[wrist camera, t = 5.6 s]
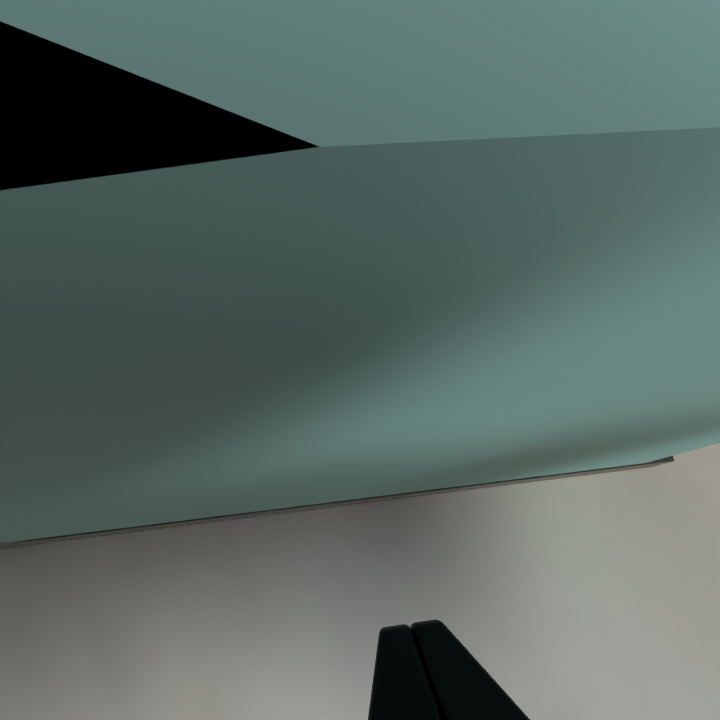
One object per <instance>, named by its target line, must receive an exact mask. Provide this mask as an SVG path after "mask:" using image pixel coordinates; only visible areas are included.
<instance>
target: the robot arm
mask: <svg viewBox="0 0 720 720" xmlns="http://www.w3.org/2000/svg"><path fill="white" fill-rule="evenodd" d="M368 720H530V719H529V718H528V717H527V716H526V715H525V714H524V712H523V711H522V710H521V709H520V708H519V707H518V706H517V705H516V704H515V702H514V701H513V700H512V699H511V698H510V697H509V696H508V695H507V694H506V692H505V691H504V690H503V689H502V688H501V687H500V686H499V685H498V684H497V682H496V681H495V680H494V679H493V678H492V677H491V676H490V675H489V674H488V672H487V671H486V670H485V669H484V668H483V667H482V666H481V665H480V664H479V662H478V661H477V660H476V659H475V658H474V657H473V656H472V655H471V654H470V652H469V651H468V650H467V649H466V648H465V647H464V646H463V645H462V644H461V642H460V641H459V640H458V639H457V638H456V637H455V636H454V635H453V634H452V632H451V631H450V630H449V629H448V628H447V627H446V626H445V625H444V624H443V623H442V622H441V621H439V620H429V621H422V622H416V623H413V624H412V625H411V627H409V626H408V625H405V624H403V625H396V626H390V627H384V628H382V629H381V630H380V632H379V638H378V646H377V654H376V661H375V669H374V677H373V685H372V692H371V700H370V708H369V715H368Z"/></svg>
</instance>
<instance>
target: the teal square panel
mask: <svg viewBox="0 0 720 720" xmlns="http://www.w3.org/2000/svg"><path fill="white" fill-rule="evenodd" d="M716 443H720V0H0V542H14V541H22V540H30V539H38V538H46V537H54V536H62V535H70V534H78V533H86V532H94V531H102V530H110V529H118V528H126V527H134V526H143V525H151V524H159V523H167V522H175V521H183V520H191V519H199V518H207V517H215V516H223V515H231V514H239V513H247V512H255V511H263V510H271V509H279V508H287V507H295V506H303V505H311V504H319V503H327V502H336V501H344V500H352V499H360V498H368V497H376V496H384V495H392V494H400V493H408V492H416V491H424V490H432V489H440V488H448V487H456V486H464V485H472V484H480V483H488V482H496V481H504V480H512V479H521V478H529V477H537V476H545V475H553V474H561V473H569V472H577V471H585V470H593V469H601V468H609V467H617V466H625V465H633V464H641V463H648V462H651V461H655V460H658V459H662V458H666V457H669V456H673V455H676V454H680V453H684V452H687V451H691V450H694V449H698V448H702V447H705V446H709V445H712V444H716Z"/></svg>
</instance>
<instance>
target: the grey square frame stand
mask: <svg viewBox="0 0 720 720" xmlns="http://www.w3.org/2000/svg"><path fill="white" fill-rule="evenodd" d="M672 461H674V459H673V456H669V457H666V458H662V459H658V460H655V461H651V462H648V463H641V464H633V465H625V466H617V467H609V468H601V469H593V470H585V471H577V472H569V473H561V474H553V475H545V476H537V477H529V478H521V479H512V480H504V481H496V482H488V483H480V484H472V485H464V486H456V487H448V488H440V489H432V490H424V491H416V492H408V493H400V494H392V495H384V496H376V497H368V498H360V499H352V500H344V501H336V502H327V503H319V504H311V505H303V506H295V507H287V508H279V509H271V510H263V511H255V512H247V513H239V514H231V515H223V516H215V517H207V518H199V519H191V520H183V521H175V522H167V523H159V524H151V525H143V526H134V527H126V528H118V529H110V530H102V531H94V532H86V533H78V534H70V535H62V536H54V537H46V538H38V539H30V540H22V541H14V542H0V548H8V547H16V546H24V545H32V544H40V543H48V542H56V541H64V540H72V539H80V538H88V537H96V536H104V535H112V534H120V533H127V532H135V531H143V530H151V529H159V528H167V527H175V526H183V525H191V524H199V523H207V522H215V521H223V520H231V519H239V518H247V517H255V516H263V515H271V514H279V513H287V512H295V511H303V510H311V509H319V508H327V507H335V506H343V505H351V504H359V503H367V502H375V501H383V500H391V499H399V498H407V497H415V496H423V495H431V494H439V493H446V492H454V491H462V490H470V489H478V488H486V487H494V486H502V485H510V484H518V483H526V482H534V481H542V480H550V479H558V478H566V477H574V476H582V475H590V474H598V473H606V472H614V471H622V470H630V469H638V468H646V467H653V466H657V465H661V464H665V463H668V462H672Z"/></svg>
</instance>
